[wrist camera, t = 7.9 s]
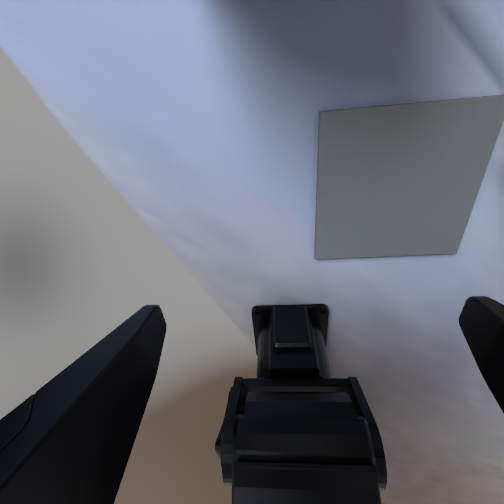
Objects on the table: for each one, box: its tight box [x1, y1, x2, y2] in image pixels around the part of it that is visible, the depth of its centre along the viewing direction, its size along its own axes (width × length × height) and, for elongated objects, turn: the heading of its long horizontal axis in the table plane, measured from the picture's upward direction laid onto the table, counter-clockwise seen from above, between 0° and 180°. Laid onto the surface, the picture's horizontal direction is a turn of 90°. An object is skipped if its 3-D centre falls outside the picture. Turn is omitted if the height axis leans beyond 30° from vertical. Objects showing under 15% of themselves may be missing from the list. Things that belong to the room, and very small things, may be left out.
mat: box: [314, 95, 504, 259], centre depth 18 cm, size 10×10×1 cm
